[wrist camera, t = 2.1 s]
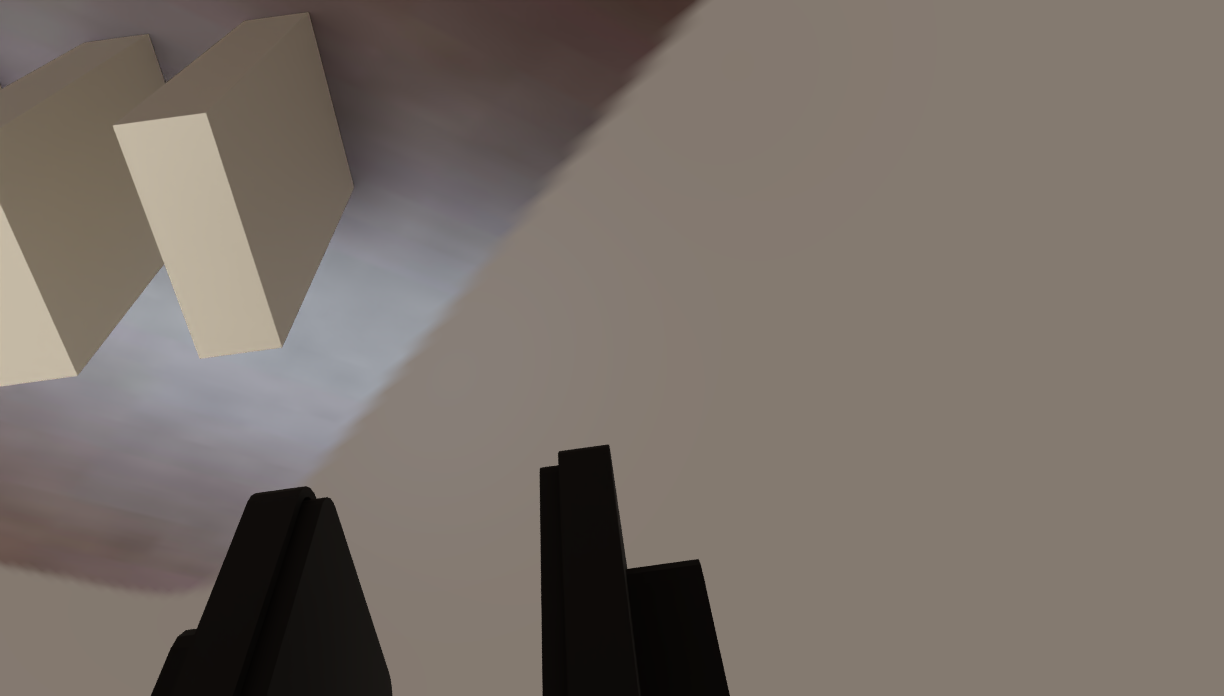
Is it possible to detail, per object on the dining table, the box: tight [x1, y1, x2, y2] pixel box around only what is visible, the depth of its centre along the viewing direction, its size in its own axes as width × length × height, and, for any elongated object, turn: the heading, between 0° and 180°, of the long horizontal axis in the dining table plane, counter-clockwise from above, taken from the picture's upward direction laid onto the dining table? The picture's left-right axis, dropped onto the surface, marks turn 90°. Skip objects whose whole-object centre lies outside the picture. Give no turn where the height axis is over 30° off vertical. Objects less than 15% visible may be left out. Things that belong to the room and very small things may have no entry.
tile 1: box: [113, 12, 354, 359], centre depth 25 cm, size 2×5×10 cm, turn 7°
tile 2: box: [0, 34, 165, 386], centre depth 25 cm, size 2×5×10 cm, turn 7°
